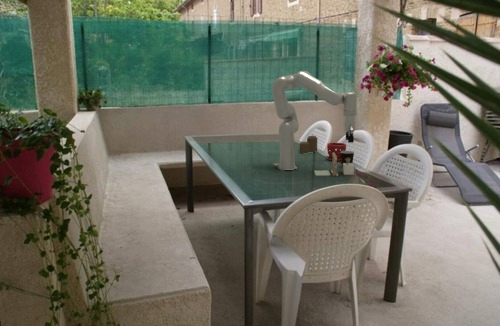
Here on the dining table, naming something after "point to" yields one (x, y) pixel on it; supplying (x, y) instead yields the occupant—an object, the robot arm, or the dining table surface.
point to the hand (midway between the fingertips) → (349, 141)
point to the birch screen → (334, 165)
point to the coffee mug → (346, 157)
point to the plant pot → (332, 148)
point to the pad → (322, 173)
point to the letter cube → (348, 168)
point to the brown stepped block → (309, 145)
